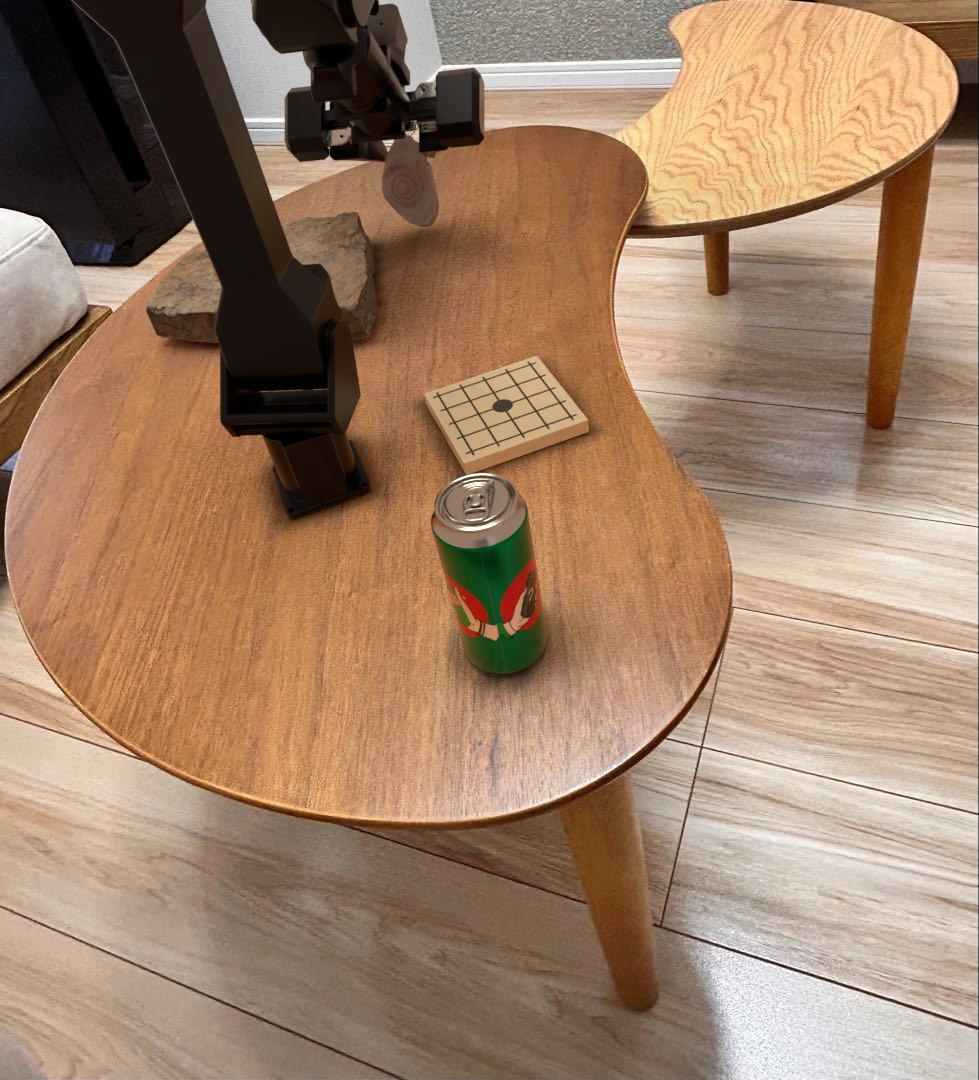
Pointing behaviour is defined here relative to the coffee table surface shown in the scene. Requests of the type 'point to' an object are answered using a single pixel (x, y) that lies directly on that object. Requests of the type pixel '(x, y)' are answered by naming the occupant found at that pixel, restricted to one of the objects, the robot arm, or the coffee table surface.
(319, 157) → the robot arm
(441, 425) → the board
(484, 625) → the soda can
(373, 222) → the coffee table surface
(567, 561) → the coffee table surface
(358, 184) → the coffee table surface
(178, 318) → the stone
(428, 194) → the fossil
